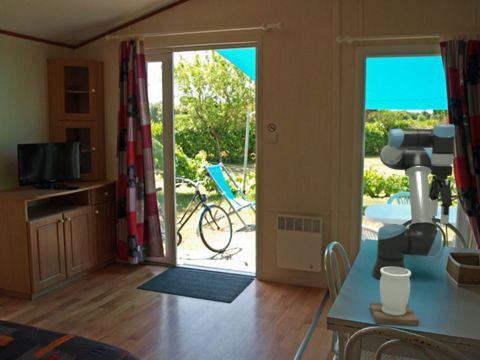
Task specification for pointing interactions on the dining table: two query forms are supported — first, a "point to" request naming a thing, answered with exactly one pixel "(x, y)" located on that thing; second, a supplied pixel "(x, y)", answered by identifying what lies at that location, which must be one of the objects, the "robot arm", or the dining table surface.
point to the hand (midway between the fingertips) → (438, 219)
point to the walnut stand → (384, 318)
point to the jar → (394, 290)
